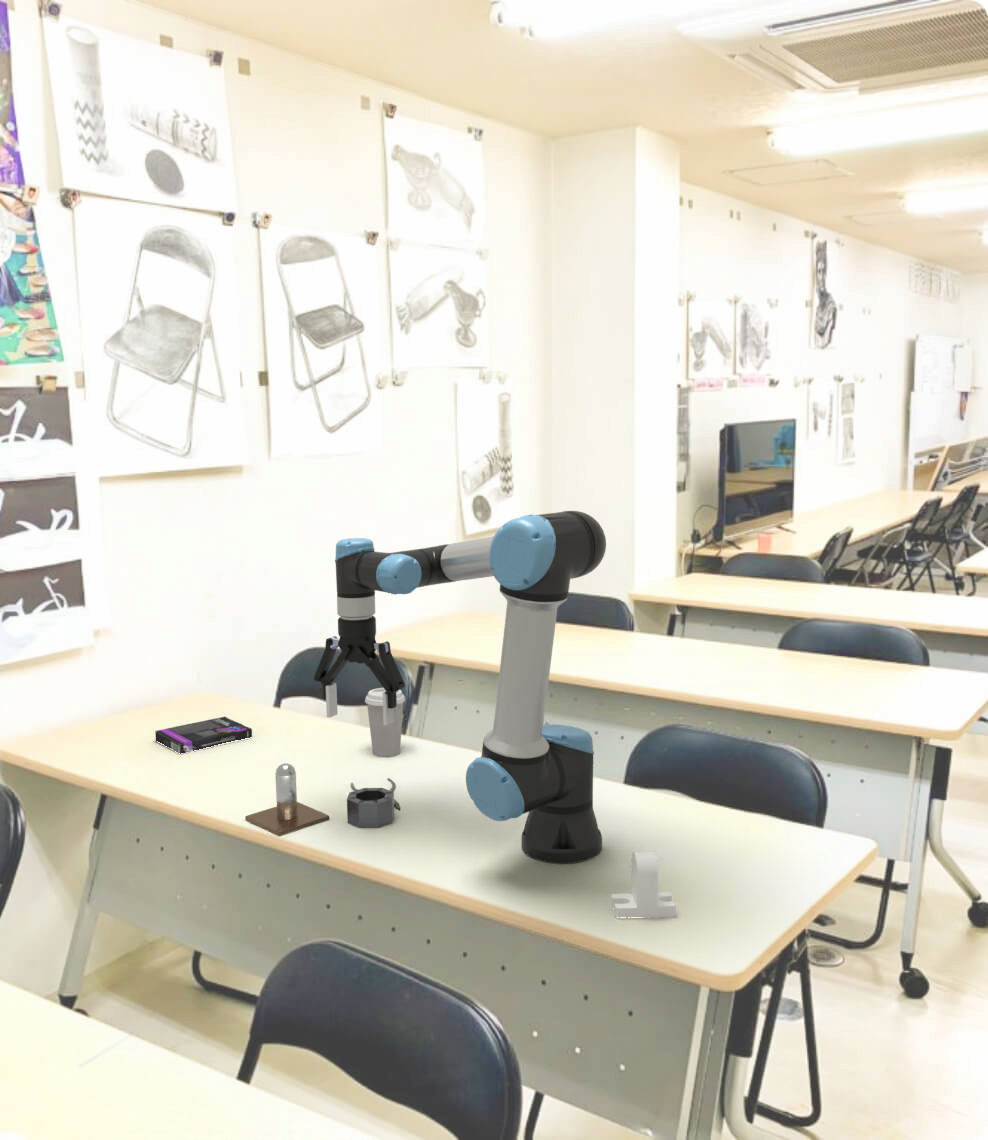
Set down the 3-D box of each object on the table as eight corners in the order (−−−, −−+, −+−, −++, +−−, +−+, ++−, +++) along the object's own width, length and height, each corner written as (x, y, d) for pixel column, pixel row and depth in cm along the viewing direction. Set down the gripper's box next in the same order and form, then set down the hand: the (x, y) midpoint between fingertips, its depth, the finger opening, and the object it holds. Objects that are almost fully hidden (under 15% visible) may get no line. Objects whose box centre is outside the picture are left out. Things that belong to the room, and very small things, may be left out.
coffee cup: (414, 750, 267) (413, 690, 265) (390, 761, 259) (388, 699, 257) (383, 744, 272) (381, 684, 270) (358, 755, 264) (356, 693, 262)
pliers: (385, 775, 248) (428, 801, 232) (385, 778, 249) (428, 805, 232) (345, 783, 243) (386, 810, 227) (346, 787, 244) (386, 814, 227)
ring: (402, 819, 223) (402, 795, 223) (367, 831, 217) (366, 807, 216) (374, 807, 230) (374, 784, 229) (339, 819, 224) (338, 795, 223)
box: (180, 758, 266) (253, 740, 278) (179, 744, 265) (252, 726, 278) (155, 744, 276) (226, 727, 289) (154, 730, 276) (226, 714, 288)
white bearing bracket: (676, 917, 180) (677, 858, 179) (615, 919, 180) (616, 860, 178) (669, 902, 185) (670, 845, 184) (610, 904, 185) (611, 847, 183)
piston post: (329, 819, 224) (327, 763, 222) (279, 836, 215) (276, 778, 214) (295, 804, 232) (293, 750, 230) (245, 819, 224) (242, 764, 222)
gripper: (420, 617, 219) (422, 721, 222) (316, 608, 230) (320, 708, 233) (400, 624, 212) (403, 731, 215) (294, 614, 223) (298, 717, 226)
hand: (360, 719), depth 224 cm, fingers open, 13 cm apart
